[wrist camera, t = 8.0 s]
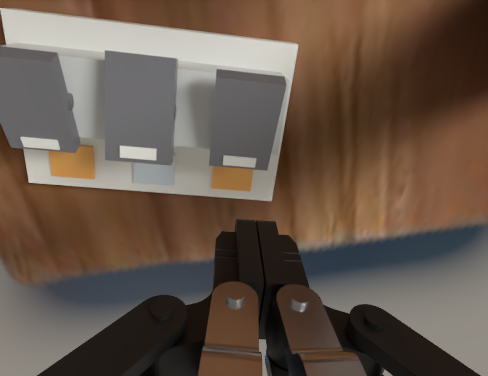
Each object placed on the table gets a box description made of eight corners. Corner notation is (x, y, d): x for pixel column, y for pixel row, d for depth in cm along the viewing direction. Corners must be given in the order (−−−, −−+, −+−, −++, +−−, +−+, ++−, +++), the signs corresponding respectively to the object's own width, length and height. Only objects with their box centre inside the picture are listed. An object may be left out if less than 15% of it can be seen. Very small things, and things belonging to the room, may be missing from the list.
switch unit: (293, 42, 30) (309, 49, 24) (269, 191, 36) (277, 223, 30) (14, 8, 27) (-36, 7, 22) (39, 173, 34) (4, 204, 28)
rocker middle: (178, 59, 24) (175, 58, 22) (173, 160, 26) (170, 166, 24) (112, 52, 24) (104, 49, 22) (112, 154, 26) (104, 160, 24)
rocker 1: (60, 48, 22) (49, 63, 21) (83, 137, 27) (75, 154, 26) (-16, 39, 21) (-33, 54, 20) (21, 131, 27) (10, 148, 25)
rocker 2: (283, 72, 24) (286, 86, 22) (265, 155, 28) (267, 171, 27) (216, 64, 23) (216, 78, 22) (210, 150, 28) (208, 167, 26)
